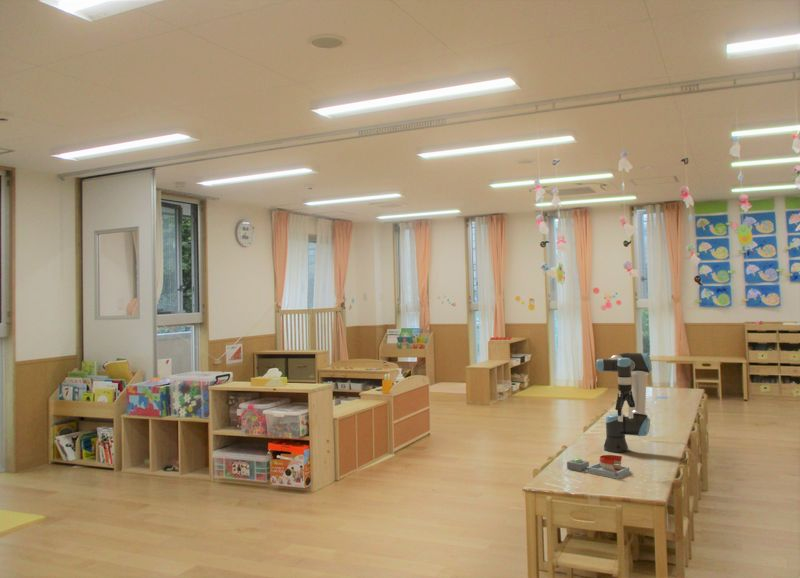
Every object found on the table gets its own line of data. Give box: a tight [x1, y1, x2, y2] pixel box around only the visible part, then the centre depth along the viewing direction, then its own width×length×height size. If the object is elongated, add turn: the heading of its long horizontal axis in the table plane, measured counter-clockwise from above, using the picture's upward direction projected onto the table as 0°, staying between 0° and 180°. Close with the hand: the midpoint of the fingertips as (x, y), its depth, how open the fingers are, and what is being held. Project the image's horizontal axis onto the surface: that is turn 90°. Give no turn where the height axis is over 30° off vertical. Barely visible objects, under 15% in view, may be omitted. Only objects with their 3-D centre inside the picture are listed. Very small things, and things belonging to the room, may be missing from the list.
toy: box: [599, 454, 623, 472], centre depth 358 cm, size 12×10×8 cm
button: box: [573, 457, 582, 463], centre depth 369 cm, size 4×4×4 cm
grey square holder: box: [566, 459, 590, 472], centre depth 369 cm, size 9×9×4 cm
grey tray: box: [584, 461, 632, 480], centre depth 359 cm, size 16×20×3 cm
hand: (625, 419), depth 375 cm, fingers open, 13 cm apart
